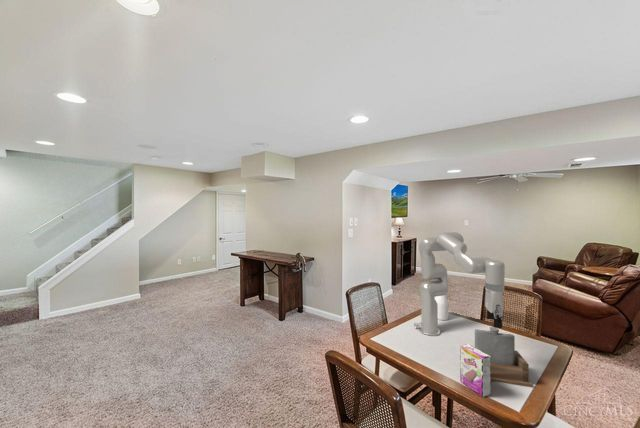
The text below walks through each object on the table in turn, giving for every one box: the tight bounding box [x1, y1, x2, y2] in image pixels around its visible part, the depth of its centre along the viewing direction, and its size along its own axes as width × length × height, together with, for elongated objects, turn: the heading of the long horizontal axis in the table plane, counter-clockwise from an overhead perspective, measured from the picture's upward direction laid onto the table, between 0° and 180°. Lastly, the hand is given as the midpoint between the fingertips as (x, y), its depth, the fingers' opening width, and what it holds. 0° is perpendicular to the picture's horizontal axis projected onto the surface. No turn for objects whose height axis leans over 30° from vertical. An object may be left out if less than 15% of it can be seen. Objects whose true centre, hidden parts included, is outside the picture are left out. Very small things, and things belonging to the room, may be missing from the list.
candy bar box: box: [459, 343, 492, 398], centre depth 114 cm, size 11×5×16 cm, turn 21°
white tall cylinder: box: [434, 294, 449, 321], centre depth 190 cm, size 10×10×30 cm
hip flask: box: [474, 326, 516, 366], centre depth 126 cm, size 16×4×20 cm, turn 66°
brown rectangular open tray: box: [491, 350, 534, 388], centre depth 125 cm, size 15×24×9 cm, turn 73°
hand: (494, 323), depth 126 cm, fingers open, 9 cm apart
